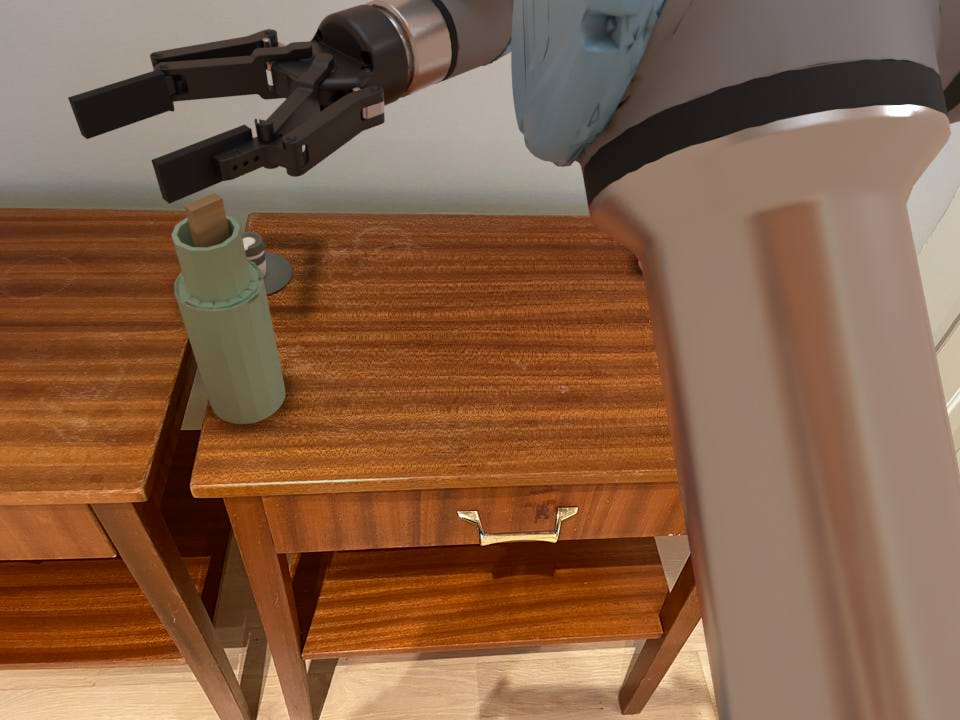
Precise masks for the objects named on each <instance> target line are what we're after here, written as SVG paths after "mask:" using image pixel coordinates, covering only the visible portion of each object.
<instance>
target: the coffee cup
mask: <svg viewBox="0 0 960 720" xmlns="http://www.w3.org/2000/svg"><path fill="white" fill-rule="evenodd" d="M241 234H242V239H243V244H244V248H245V253H246V258H247V260H249V261H252V262H253V263H255V264H256V265H257V267H258V268H259V269H260V270H261V271H262V275H263V280H264V285H265V290H266V295H267V296H270V295H273V294H275V293H277V292H279V291H281V290H282V289H284V288H285V287H286V286H287V285H288V284H289V283H290V281H291V279H292V277H293V274H294V273H293V272H294V269H293V266H292V264H291V262H290V261H289V260H288V259H287V258H286V257H285V256H282V255H281V254H279V253H278V254H277V253H274V252H269V251H266V250H267V248H268V246H267V243H266V242H265V240H264V238H263V236H262V235H261V234H260V233H258V232H256V231H255V232H254V231H245V232H244V231H243V232H241Z"/></svg>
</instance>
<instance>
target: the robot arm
mask: <svg viewBox="0 0 960 720" xmlns="http://www.w3.org/2000/svg"><path fill="white" fill-rule="evenodd" d="M278 37H279V36H278V32H277V30H276V29H271V28H267V29H263V30H261V31H258V32H255V33H252V34H249V35H246V36H240V37H233V38H228V39H222V40H216V41H211V42H205V43H200V44H194V45H187V46H182V47H176V48H170V49H163V50H158V51H154V52H151V53H150V54H149V58H150V62H151V66H152V69H153V70H152V71H150V72H146V73H142V74H139V75H136V76H133V77H130V78H127V79H122V80H119V81H117V82H113V83H110V84H107V85H104V86H101V87H97V88H94V89H90V90H88V91H84V92H82V93H78V94H75V95H71V96H69V97H67V99H68V101H69V104H70V108H71V110H72V113H73V115H74V118H75V121H76V123H77V126H78V129H79V132H80V135H81V136H82V137H83V138H85V139H86V140H90V139H92V138H95V137H99V136H100V135H104V134H107V133H110V132H112V131H115V130H118V129H121V128H124V127H127V126H130V125H132V124H135V123H139V122H141V121H144V120H147V119H149V118H150V119H151V118H153V117H155V116H159V115H162V114H165V113H167V112H175V102H184V101H197V100H206V99H219V98H220V99H221V98H229V97H230V98H231V97H240V96H241V97H242V96H251V95H252V96H253V95H258V96H259V97H260V98H261V99H262V100H266V101H267V100H277V99H285V100H284V101H283V102H281V104H280V105H279V106H278V107H277V108H276V109H275V110H274V111H273V112H272V113H271V115H269V116H268V118H266V119H262V118H261V119H260V118H259V119H257V118H254V126H255V132H256V136H254V135H253V130H252V128H251V127H250V126H248V125H246V124H242V125H240V126H237V127H234V128H232V129H229V130H226V131H223V132H221V133H219V134H218V133H217V134H216V135H213V136H211V137H208V138H205V139H203V140H200V141H198V142H195V143H192V144H189V145H187V146H184V147H182V148H179V149H176V150H174V151H171V152H168V153H166V154H163V155H161V156H158V157H154V158H153V159H151V163H152V167H153V170H154V173H155V174H154V175H155V177H156V181H157V184H158V188H159V191H160V194H161V197H162V199H163V200H164V201H165V202H167V203H168V204H172V203H175V202H177V201H179V200H182V199H185V198H186V197H189V196H192V195H193V194H197V193H198V192H201V191H203V190H205V189H208V188H211V187H213V186H216V185H217V184H219V183H222V182H227V181H234V180H235V179H237V178H241V177H243V176H244V175H246V174H249V173H252V172H254V171H257V170H259V169H261V168H263V169H266V170H274V169H278V168H279V167H281V168H284V169H285V171H286V174H287V175H288V176H290V177H294V178H297V177H301V176H303V175H305V174H306V173H308V172H309V171H310V170H312V169H313V168H314V167H316V166H317V165H318V164H320V163H321V162H323V161H324V160H325V159H326V158H328V157H329V156H331V155H332V154H334V153H335V152H336V151H337V150H340V148H341V147H343V146H344V145H346V144H348V142H350V141H351V140H352V139H354V138H355V137H356V136H358V135H360V134H361V133H362V132H363V131H366V130H370V129H372V128H375V127H377V126H381V125H383V124H385V122H386V120H385V106H388V105H390V104H393V103H395V102H397V101H398V100H399V99H401V98H405V97H408V96H412V94H415V93H417V92H420V91H421V90H424V89H426V88H429V87H431V86H433V85H436V84H439V83H441V82H445V81H447V80H450V79H452V78H455V77H457V76H460V75H463V74H464V73H467V72H471V71H472V70H475V69H477V68H479V67H485V66H488V65H490V64H493V63H494V62H497V61H498V60H499V59H501V58H503V57H505V56H507V55H508V54H510V68H511V69H510V70H511V87H512V98H513V99H512V100H513V106H514V114H515V119H516V124H517V128H518V130H519V132H520V133H521V134H522V135H523V141H524V145H525V147H526V149H527V150H528V152H529V153H531V155H533V156H534V158H537V159H538V160H541V161H543V162H550V163H552V164H553V165H554V166H556V167H558V168H559V167H561V168H565V167H571V166H572V165H573V163H574V162H577V163H579V165H580V169H581V173H582V178H583V183H584V191H585V196H586V202H587V208H588V213H589V219H590V222H591V224H592V226H593V227H594V228H595V229H598V230H599V231H601V232H602V233H604V234H605V235H607V236H608V237H610V238H611V239H613V240H614V241H615V242H618V244H620V245H621V246H623V247H625V248H626V249H628V250H629V251H631V252H632V254H633V255H634V256H635V257H636V259H637V260H639V261H640V262H641V267H642V270H641V272H642V279H643V284H644V289H645V296H646V300H647V301H646V302H647V307H648V313H649V318H650V324H651V330H652V337H653V342H654V348H655V354H656V360H657V366H658V370H659V377H660V383H661V390H662V395H663V401H664V408H665V412H666V418H667V424H668V429H669V430H668V431H669V436H670V441H671V442H670V443H671V448H672V453H673V459H674V465H675V472H676V476H677V483H678V489H679V494H680V495H679V496H680V500H681V506H682V513H683V517H684V524H685V528H686V529H685V530H686V535H687V541H688V547H689V553H690V558H691V559H690V560H691V565H692V570H693V571H692V572H693V576H694V581H695V588H696V594H697V600H698V605H699V613H700V618H701V624H702V630H703V635H704V636H703V637H704V641H705V648H706V653H707V659H708V664H709V671H710V676H711V682H712V687H713V688H712V689H713V694H714V700H715V705H716V711H717V717H718V720H960V468H959V463H958V458H957V453H956V448H955V442H954V437H953V433H952V428H951V423H950V419H949V412H948V408H947V402H946V398H945V393H944V392H945V391H944V388H943V382H942V378H941V372H940V367H939V361H938V358H937V353H936V347H935V342H934V337H933V332H932V327H931V323H930V322H931V321H930V316H929V313H928V306H927V302H926V301H927V300H926V297H925V291H924V286H923V282H922V276H921V272H920V266H919V261H918V257H917V251H916V246H915V241H914V236H913V231H912V227H911V226H912V225H911V221H910V216H909V211H908V210H909V209H908V207H907V205H908V201H909V199H910V196H911V195H912V194H911V193H912V191H913V188H914V186H915V185H916V184H917V182H918V181H919V180H920V178H921V177H922V176H923V174H924V173H925V172H926V171H927V169H928V168H929V167H930V165H931V164H932V163H933V162H934V160H935V159H936V157H937V156H938V155H939V154H940V152H941V151H942V150H943V148H944V147H945V146H946V145H947V143H948V142H949V139H950V137H951V134H952V130H951V124H955V123H959V122H960V0H370V1H368V2H366V3H365V4H363V3H362V4H358V5H354V6H352V7H349V8H345V9H342V10H339V11H336V12H333V13H329V14H328V15H326V16H325V17H324V18H323V19H322V20H321V21H320V23H319V25H318V27H317V30H316V31H315V33H314V36H312V38H311V39H310V40H309V41H308V40H307V41H293V42H289V43H288V44H284V43H281V42H279V38H278ZM267 71H268V72H270V74H271V81H272V85H271V84H269V81H268V74H267V73H268V72H267ZM303 146H304V150H303Z"/></svg>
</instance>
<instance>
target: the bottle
mask: <svg viewBox="0 0 960 720" xmlns="http://www.w3.org/2000/svg"><path fill="white" fill-rule="evenodd" d="M226 219H227V223H228V228H229V233H230V238H228V239H227V240H226V241H224V242H223V243H221V244H218V245H214V246H211V247H207V248H206V247H195V246H194V242H193V238H192V234H191V230H190V226H189V223H188V219H187V217H185V218H183V219H182V220H181V221H179V222H177V223H176V224H175V226H174V227H173V230H172V232H171V235H170V236H171V239H172V243H173V246H174V250H175V252H176V257H177V259H178V262H179V266H180V269H181V272H180V273H179V275H178V276H177V278H176V279H175V281H174V283H173V285H174V289H173V291H174V296H175V299H176V302H177V306H178V308H179V312H180V315H181V319H182V322H183V324H184V327H185V331H186V334H187V337H188V340H189V343H190V347H191V349H192V354H193V356H194V358H195V362H196V365H197V368H198V371H199V375H200V378H201V381H202V384H203V387H204V390H205V393H206V396H207V400H208V403H209V405H210V406H211V411H213V413H214V414H215V415H216V416H217V417H218V418H219V419H221V420H222V421H224V422H227V423H230V424H233V425H235V424H236V425H248V424H249V425H251V424H255V423H259V422H261V421H263V420H266V419H267V418H270V417H271V416H272V415H274V414H275V413H276V412H277V411H279V409H280V408H281V406H282V405H283V404H284V401H285V398H286V388H285V381H284V376H283V371H282V370H283V369H282V366H281V360H280V356H279V355H280V354H279V350H278V345H277V340H276V336H275V330H274V325H273V321H272V315H271V310H270V305H269V301H268V295H266V290H265V285H264V280H263V275H262V271H261V270H260V269H259V268H258V267H257V265H256V264H255V263H253V262H252V261H249V260H247V258H246V253H245V248H244V244H243V239H242V234H241V233H242V230H241V226H240V224H239V223H238V222H237V220H236V219H235V217H232V216H231V215H228V214H226Z"/></svg>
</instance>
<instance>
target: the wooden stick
mask: <svg viewBox="0 0 960 720" xmlns="http://www.w3.org/2000/svg"><path fill="white" fill-rule="evenodd" d="M183 206H184V211H185V215H186V218H187V219H188V223H189V226H190V230H191V234H192V238H193V242H194V246H195V247H206V248H207V247H211V246H214V245H218V244H221V243H223V242H224V241H226V240H227V239H228V238H230V233H229V228H228V223H227V219H226V215H227V214H226V210H225V205H224V200H223V197H221V196H220V195H219V194H217V193H216V192H213V193H211V194H208V195H206V196H203V197H200V198H199V199H196V200H193V201H191V202H189V203H187V204H184V205H183Z"/></svg>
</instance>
